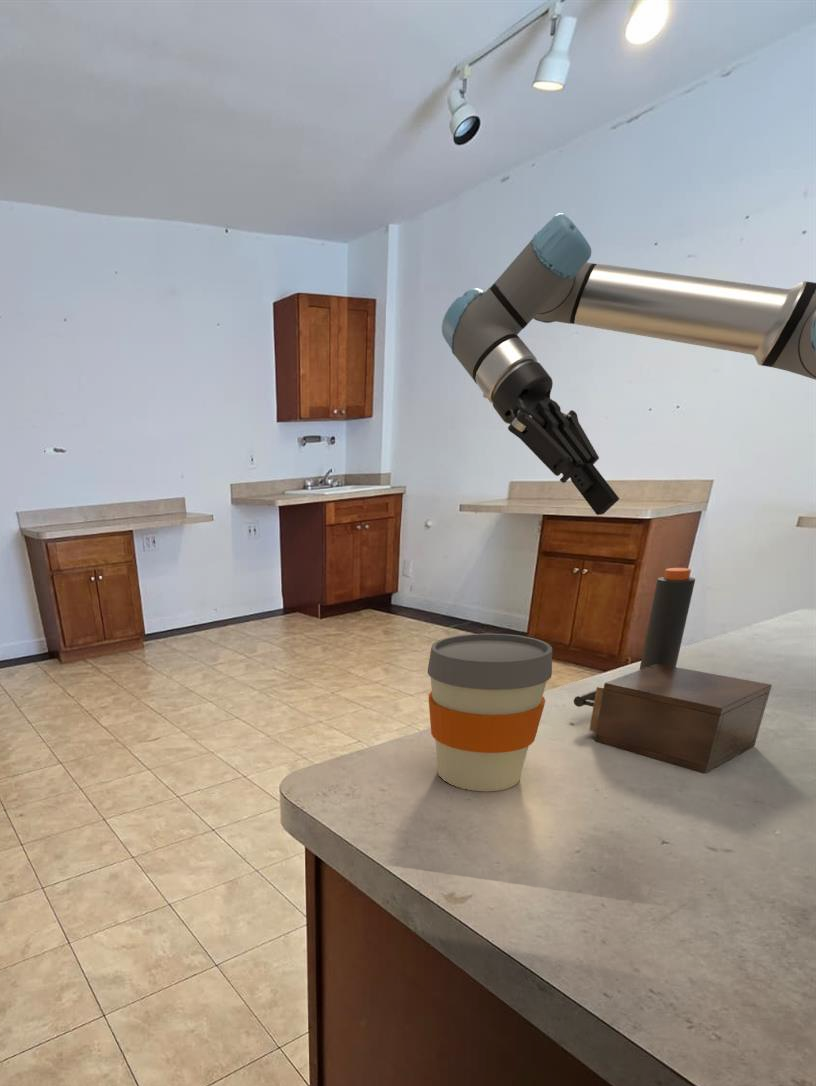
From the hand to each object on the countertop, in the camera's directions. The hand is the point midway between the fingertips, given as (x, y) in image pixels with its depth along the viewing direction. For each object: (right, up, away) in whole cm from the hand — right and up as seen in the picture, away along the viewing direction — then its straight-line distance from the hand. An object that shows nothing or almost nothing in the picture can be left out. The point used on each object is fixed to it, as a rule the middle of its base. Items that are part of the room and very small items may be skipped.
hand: (608, 506), depth 86 cm
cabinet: (+3, -32, -9) cm, 34 cm away
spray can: (+9, -26, +5) cm, 28 cm away
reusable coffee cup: (-22, -36, -12) cm, 44 cm away
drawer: (+1, -30, -6) cm, 31 cm away
